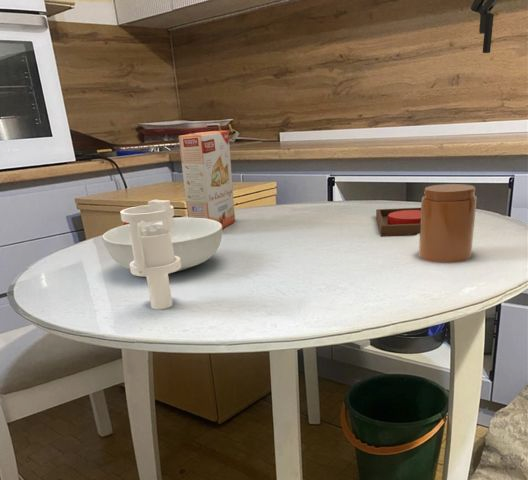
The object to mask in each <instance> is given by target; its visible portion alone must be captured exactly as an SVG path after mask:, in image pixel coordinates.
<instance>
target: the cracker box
mask: <svg viewBox="0 0 528 480" xmlns="http://www.w3.org/2000/svg"><path fill="white" fill-rule="evenodd" d="M229 134H230V132H229V130H213V131H211V130H210V131H201V132H195V133H188V134H181V135H178V142H179V143H178V144H179V153H180V161H181V167H182V168H181V170H182V177H183V178H182V179H183V188H184V196H185V197H184V198H185V205H186V215H187V217H188V218H205V219H211V220H215V221H217V222H219V223H221V225H222V229H224V228H226V227H227V226H229V225H231V224H234V223H235V222H236V215H235V205H234V204H235V202H234V201H235V200H234V188H233V176H232V175H233V174H232V162H231V161H232V160H231V147H230V146H231V145H230V135H229Z"/></svg>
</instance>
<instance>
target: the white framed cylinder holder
mask: <svg viewBox="0 0 528 480" xmlns="http://www.w3.org/2000/svg"><path fill="white" fill-rule="evenodd" d="M119 214H120V220H121V222H123V223H124V222H127V223H129V224H130V225H128V226H129V228H128V230H129V232H130V238H131V243H132V249H133V255H134V261H132V262H131V263H130V269H129V270H130V273H131V275H133V276H136V277H146V282H147V283H146V284H147V288H148V294H149V301H150V308H151V309H153V310H166V309H169V308H171V307H172V306H173V299H172V292H171V286H170V285H171V284H170V279H169V274H172V273H176V272H175V271H177V270H179V269H180V268H181V260H180V257H178V256H175V255H174V250H173V245H172V242H171V235H170V228H172V227H173V220H172V218H174V216H175V210H174V205H171V200H167V199H165V200H164V199H163V200H162V199H161V200H159V199H152V200H150V201H147V204H145V205H138V206H132V207H128V208H123V209H122V210H120V211H119ZM143 221H145V222H154V221H155V223H154V224H151V226H152V228H154V229H156V230H155V231H151V228H150V226H145V225H141V226H139V223H141V222H143Z"/></svg>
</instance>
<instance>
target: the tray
mask: <svg viewBox="0 0 528 480" xmlns="http://www.w3.org/2000/svg"><path fill="white" fill-rule="evenodd" d="M375 210H376V211H375V219H376V223H377V224H376V225H377V228H378V231H379V235H380V237H401V236H402V237H404V236H417V235H420V224H398V225H389V224H388V214H390V213H392V212H396V211H403V210H421V207H402V208H401V207H399V208H380V209H379V208H378V209H375Z"/></svg>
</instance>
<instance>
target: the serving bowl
mask: <svg viewBox="0 0 528 480" xmlns="http://www.w3.org/2000/svg"><path fill="white" fill-rule="evenodd" d="M172 220H173V227H172V228H170V235H171V242H172V245H173V250H174V255H175V256H178V257H180V260H181V268H180V269H179V270H177V271H175V272H174V273H177V272H182V271H184V270H187V269H190V268H194V267H195V266H198V265H201V264H202V263H204V262H206V261H208V260H209V259H211V258H212V256H214V254H215V253H216V252H217V251H218V249H219V247H220V245H221V242H222V237H223V228H222V225H221V223H219V222H217V221H215V220H211V219H205V218H188V216H186V217H172ZM154 223H155V221H154V222H145V221H143V222H141V223H139V226H141V225H145V226H150V228H151V231H155V230H156V229H154V228H152V226H151V224H154ZM128 225H130V224H127V225H124V224H123V225H119V226H116V227H114V228H113V227H112V228H111V229H109V230H107V231H106V232H104V233H103V234H102V241H103V245H104V247H105V249H106V251H107V253H108V255H109V256H110V257H111V258H112V259H113V260H114V261H115V262H116V263H117V264H118V265H120V266H121V267H124V268H126V269H128V270H130V263H131V262H132V261H134V255H133V249H132V243H131V238H130V232H129V230H128V228H129V226H128Z"/></svg>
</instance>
